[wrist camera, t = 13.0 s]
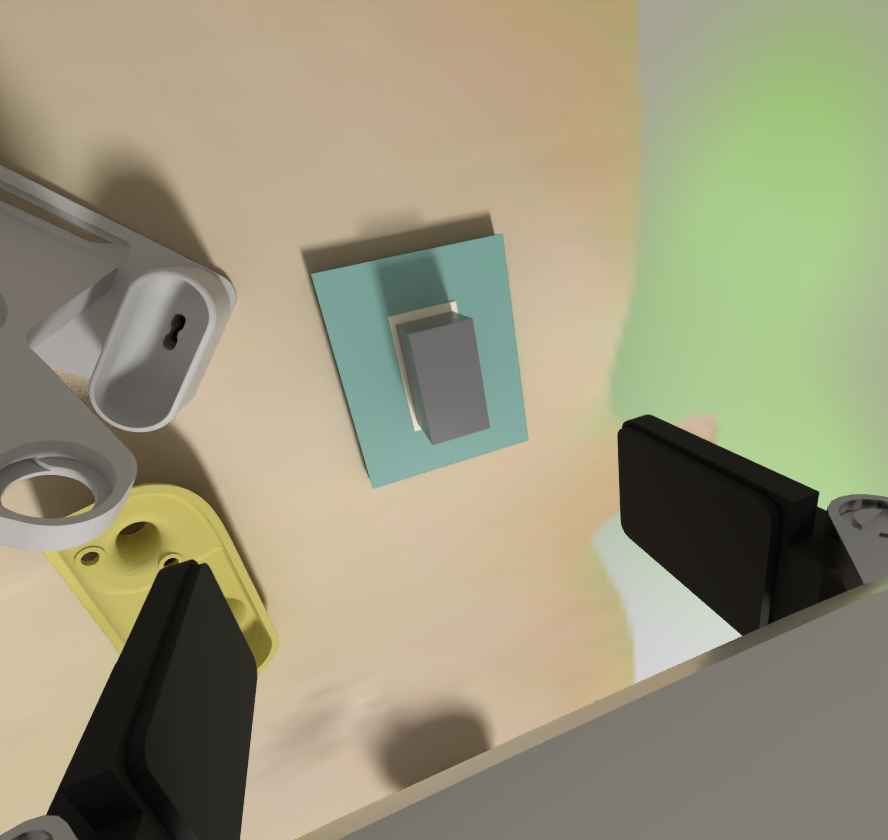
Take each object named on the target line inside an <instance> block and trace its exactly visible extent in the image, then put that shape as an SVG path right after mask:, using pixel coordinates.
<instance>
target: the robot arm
mask: <svg viewBox="0 0 888 840" xmlns="http://www.w3.org/2000/svg"><path fill="white" fill-rule="evenodd" d="M618 463H619V489H620V514H621V525H622V528H623V530H624V532H625V534H626V535H627V536H628V537H629V538H630V539H631V540H632V541H633V542H635V543H636V544H637V545H638V546H639V547H641V548H642V549H643V550H644V551H645V552H646V553H647V554H649V555H650V556H651V557H652V558H653V559H654V560H655V561H657V562H658V563H659V564H660V565H661V566H662V567H664V568H665V569H666V570H667V571H668V572H669V573H671V574H672V575H673V576H674V577H675V578H676V579H678V580H679V581H680V582H681V583H682V584H683V585H684V586H685V587H687V588H688V589H689V590H690V591H691V592H692V593H694V594H695V595H696V596H697V597H698V598H699V599H701V600H702V601H703V602H704V603H705V604H706V605H707V606H709V607H710V608H711V609H712V610H713V611H714V612H716V613H717V614H718V615H719V616H720V617H721V618H723V619H724V620H725V621H726V622H727V623H728V624H730V625H731V626H732V627H733V628H734V629H735V630H737V631H738V632H739V633H740V634H741V635H742V637H740V638H737V639H735V640H733V641H730V642H728V643H726V644H724V645H721V646H719V647H717V648H714V649H712V650H710V651H708V652H705V653H703V654H701V655H699V656H697V657H694V658H692V659H690V660H688V661H685V662H683V663H681V664H678V665H676V666H674V667H672V668H669V669H667V670H665V671H663V672H660V673H658V674H656V675H654V676H652V677H650V678H647V679H645V680H643V681H640V682H638V683H636V684H634V685H632V686H629V687H627V688H625V689H623V690H620V691H618V692H616V693H614V694H612V695H609V696H607V697H605V698H603V699H600V700H598V701H596V702H594V703H592V704H589V705H587V706H585V707H583V708H581V709H578V710H576V711H574V712H572V713H569V714H567V715H565V716H563V717H561V718H558V719H556V720H554V721H552V722H550V723H547V724H545V725H543V726H541V727H539V728H536V729H534V730H532V731H530V732H527V733H525V734H523V735H521V736H519V737H516V738H514V739H512V740H510V741H508V742H505V743H503V744H501V745H499V746H497V747H494V748H492V749H490V750H488V751H486V752H483V753H481V754H479V755H477V756H475V757H473V758H470V759H468V760H466V761H464V762H462V763H459V764H457V765H455V766H453V767H451V768H449V769H446V770H444V771H442V772H440V773H438V774H435V775H433V776H431V777H429V778H427V779H425V780H422V781H420V782H418V783H416V784H414V785H411V786H409V787H407V788H405V789H403V790H401V791H398V792H396V793H394V794H392V795H390V796H387V797H385V798H383V799H381V800H379V801H377V802H374V803H372V804H370V805H368V806H366V807H363V808H361V809H359V810H357V811H355V812H353V813H350V814H348V815H346V816H344V817H342V818H339V819H337V820H335V821H333V822H331V823H329V824H327V825H325V826H323V827H320V828H318V829H316V830H314V831H312V832H310V833H308V834H306V835H304V836H302V837H300V838H297V839H295V840H888V497H884V496H876V495H868V494H859V495H858V494H856V495H848V496H842V497H838V498H837V499H835V500H833V501H831V503H830V504H829V506H828V508H827V511H826V510H824V509H821V508H819V507H817V503H818V497H819V492H818V491H816V490H814V489H812V488H810V487H808V486H805V485H803V484H801V483H799V482H797V481H794V480H792V479H790V478H788V477H786V476H783V475H781V474H779V473H777V472H775V471H773V470H770V469H768V468H766V467H764V466H762V465H759V464H757V463H755V462H753V461H750V460H748V459H746V458H744V457H742V456H740V455H738V454H735V453H733V452H731V451H729V450H727V449H724V448H722V447H720V446H718V445H716V444H713V443H711V442H709V441H707V440H705V439H703V438H700V437H698V436H696V435H694V434H692V433H689V432H687V431H685V430H683V429H681V428H679V427H676V426H674V425H672V424H670V423H667V422H665V421H663V420H661V419H659V418H657V417H654V416H652V415H644V416H641V417H637V418H634V419H631V420H628V421H625V422H624V423H623V426H622V429H620V430H619V432H618ZM256 685H257V665H256V661H255V658H254V655H253V653H252V651H251V649H250V647H249V645H248V643H247V641H246V639H245V637H244V635H243V633H242V631H241V629H240V627H239V625H238V623H237V621H236V619H235V617H234V615H233V613H232V611H231V609H230V607H229V605H228V603H227V601H226V599H225V597H224V595H223V592H222V590H221V588H220V586H219V584H218V582H217V580H216V578H215V576H214V574H213V572H212V570H211V568H210V567H209V565H208V564H207V563H202V564H198V562H197V561H195V560H193V559H190V560H187V561H184V562H181V563H178V564H175V565H172V566H168V567H165V568H162V569H160V570H159V572H158V573H157V576H156V578H155V580H154V582H153V584H152V587H151V589H150V591H149V593H148V595H147V597H146V600H145V602H144V604H143V606H142V608H141V611H140V613H139V615H138V617H137V619H136V622H135V624H134V626H133V628H132V630H131V632H130V635H129V637H128V639H127V641H126V643H125V646H124V648H123V650H122V652H121V654H120V657H119V659H118V661H117V663H116V664H115V666H114V668H113V670H112V672H111V675H110V677H109V679H108V681H107V683H106V685H105V688H104V690H103V692H102V694H101V696H100V699H99V701H98V703H97V705H96V707H95V709H94V712H93V714H92V716H91V718H90V720H89V723H88V725H87V727H86V729H85V731H84V733H83V736H82V738H81V740H80V742H79V744H78V746H77V749H76V751H75V753H74V755H73V757H72V760H71V762H70V764H69V766H68V768H67V770H66V773H65V775H64V777H63V779H62V781H61V784H60V786H59V788H58V790H57V792H56V794H55V797H54V799H53V801H52V803H51V805H50V808H49V810H48V812H47V814H46V815H43V816H40V817H37V818H34V819H31V820H28V821H25V822H23V823H21V824H19V825H17V826H16V827H14V828H12V829H10V830H9V831H7V832H5V833H3V834H2V835H1V836H0V840H240V833H241V824H242V815H243V805H244V796H245V787H246V777H247V768H248V759H249V750H250V740H251V731H252V722H253V712H254V703H255V694H256Z"/></svg>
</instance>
